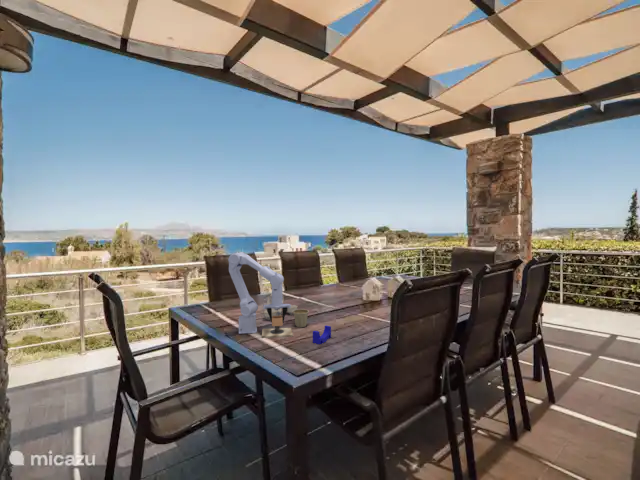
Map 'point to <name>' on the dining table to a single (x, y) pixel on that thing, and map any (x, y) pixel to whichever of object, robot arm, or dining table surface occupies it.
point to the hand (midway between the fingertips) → (277, 321)
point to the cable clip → (324, 337)
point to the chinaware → (278, 309)
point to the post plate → (277, 332)
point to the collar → (277, 321)
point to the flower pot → (300, 317)
